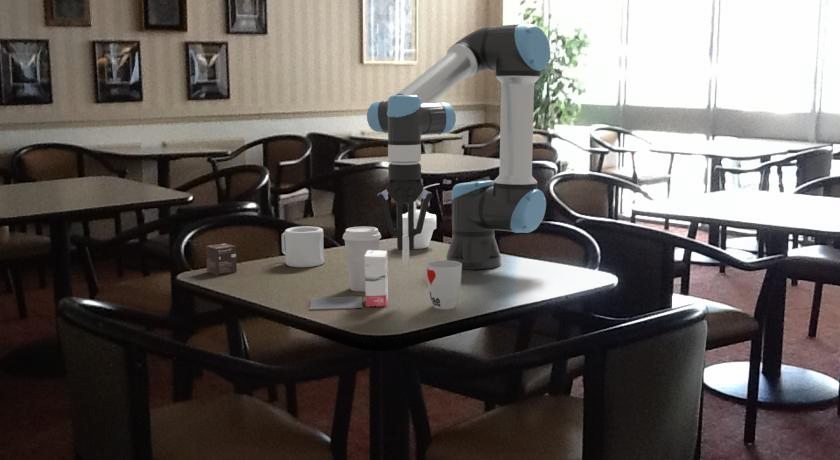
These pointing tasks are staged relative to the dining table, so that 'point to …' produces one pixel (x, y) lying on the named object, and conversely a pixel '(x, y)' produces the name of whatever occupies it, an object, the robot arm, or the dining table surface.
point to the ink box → (376, 278)
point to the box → (221, 259)
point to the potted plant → (427, 230)
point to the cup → (444, 283)
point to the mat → (336, 303)
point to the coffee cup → (359, 253)
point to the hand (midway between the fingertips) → (405, 263)
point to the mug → (303, 246)
